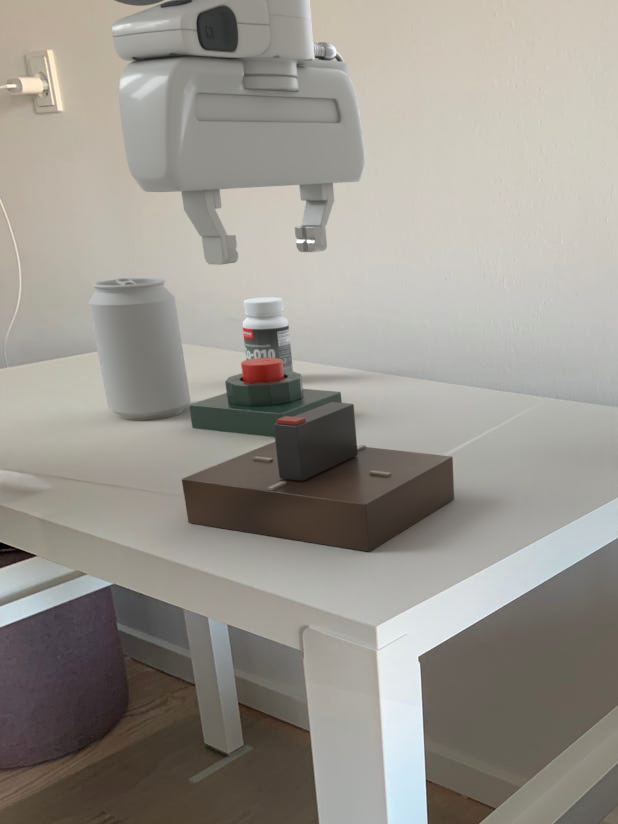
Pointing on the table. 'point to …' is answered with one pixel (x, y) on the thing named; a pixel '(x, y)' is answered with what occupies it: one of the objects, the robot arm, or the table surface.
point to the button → (262, 370)
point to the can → (139, 348)
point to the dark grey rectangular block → (315, 440)
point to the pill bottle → (267, 330)
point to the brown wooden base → (322, 496)
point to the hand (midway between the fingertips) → (269, 257)
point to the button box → (257, 405)
